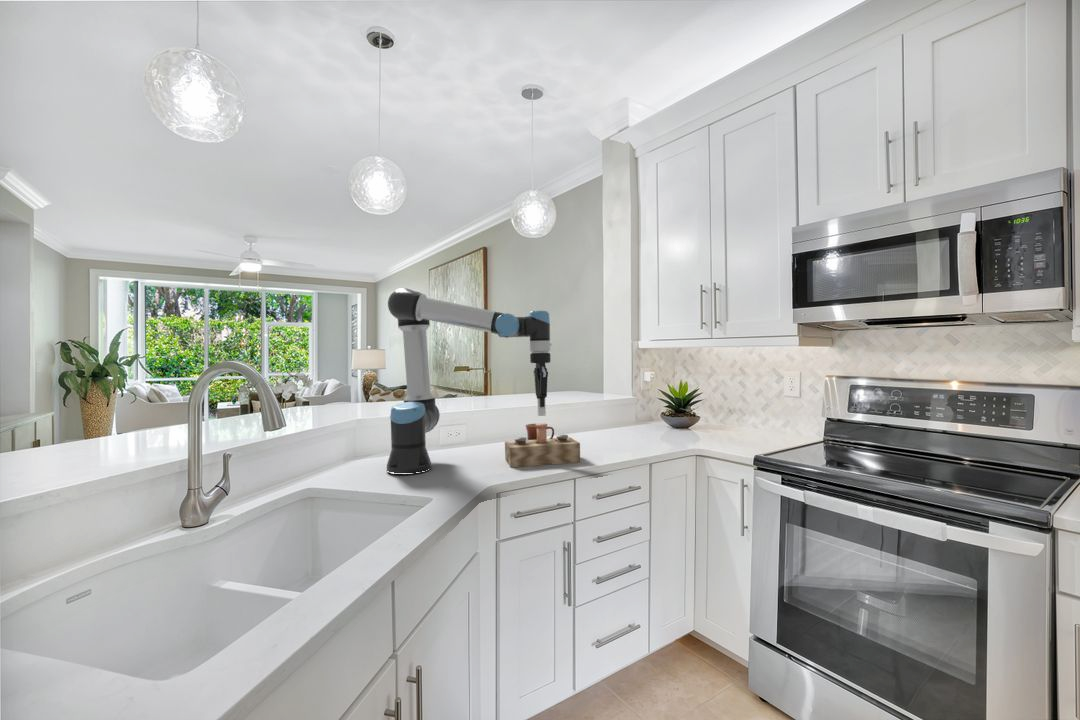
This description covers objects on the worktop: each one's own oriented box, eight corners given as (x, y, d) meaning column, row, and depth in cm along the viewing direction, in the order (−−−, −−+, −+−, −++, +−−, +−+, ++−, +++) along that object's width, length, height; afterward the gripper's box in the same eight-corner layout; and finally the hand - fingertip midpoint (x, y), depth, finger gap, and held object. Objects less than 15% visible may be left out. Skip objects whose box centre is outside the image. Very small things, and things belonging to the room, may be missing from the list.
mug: (524, 451, 192) (524, 426, 192) (527, 447, 200) (526, 423, 200) (553, 451, 191) (553, 426, 190) (555, 447, 199) (554, 423, 199)
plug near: (516, 463, 171) (515, 439, 171) (514, 460, 175) (513, 437, 175) (528, 462, 172) (527, 438, 172) (525, 460, 176) (525, 436, 176)
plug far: (558, 460, 174) (558, 436, 174) (555, 457, 179) (555, 434, 178) (569, 459, 175) (569, 436, 175) (566, 457, 180) (566, 434, 179)
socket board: (510, 467, 166) (510, 447, 166) (505, 459, 178) (504, 441, 178) (580, 462, 172) (579, 443, 172) (570, 455, 184) (570, 437, 184)
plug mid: (537, 449, 172) (537, 425, 172) (534, 446, 177) (534, 423, 177) (549, 448, 173) (548, 424, 173) (546, 446, 178) (545, 423, 178)
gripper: (554, 352, 169) (555, 417, 169) (545, 352, 182) (547, 412, 182) (534, 352, 167) (535, 418, 168) (526, 352, 180) (528, 413, 180)
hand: (541, 415), depth 175 cm, fingers closed
